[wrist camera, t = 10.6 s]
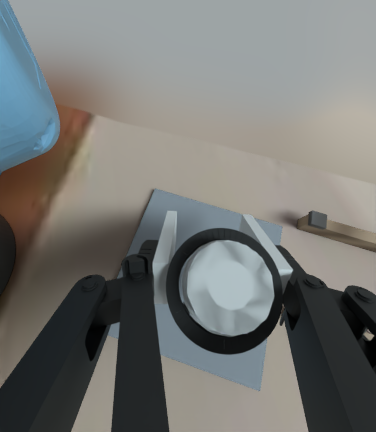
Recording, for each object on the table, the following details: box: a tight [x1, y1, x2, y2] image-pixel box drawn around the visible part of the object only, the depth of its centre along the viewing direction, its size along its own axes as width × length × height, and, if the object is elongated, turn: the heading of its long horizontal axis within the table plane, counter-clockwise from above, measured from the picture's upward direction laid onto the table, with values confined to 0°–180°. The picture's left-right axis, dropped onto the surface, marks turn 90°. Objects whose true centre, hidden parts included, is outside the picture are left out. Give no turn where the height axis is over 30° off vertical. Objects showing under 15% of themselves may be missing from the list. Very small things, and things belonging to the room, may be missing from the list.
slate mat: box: [108, 189, 282, 391], centre depth 20 cm, size 16×16×1 cm
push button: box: [166, 228, 283, 355], centre depth 12 cm, size 7×5×10 cm
